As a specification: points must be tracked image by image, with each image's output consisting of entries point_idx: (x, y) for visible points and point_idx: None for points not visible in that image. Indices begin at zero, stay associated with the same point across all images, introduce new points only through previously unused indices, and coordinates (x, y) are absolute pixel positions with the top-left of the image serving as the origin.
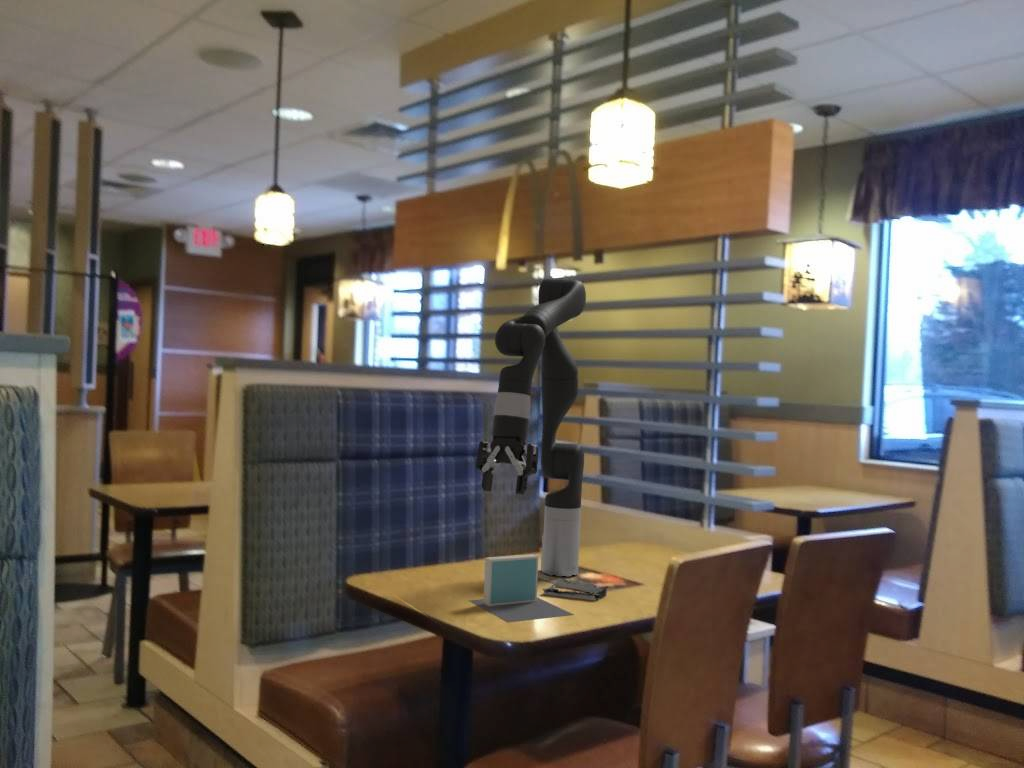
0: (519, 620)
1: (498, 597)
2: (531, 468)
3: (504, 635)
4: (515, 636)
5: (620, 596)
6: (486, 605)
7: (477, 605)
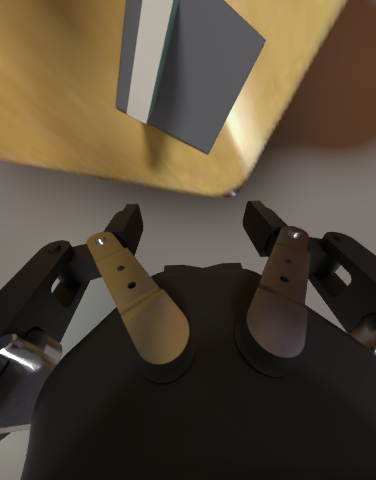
0: (214, 138)
1: (156, 96)
2: (333, 274)
3: (222, 181)
4: (230, 177)
5: None
6: None
7: None
